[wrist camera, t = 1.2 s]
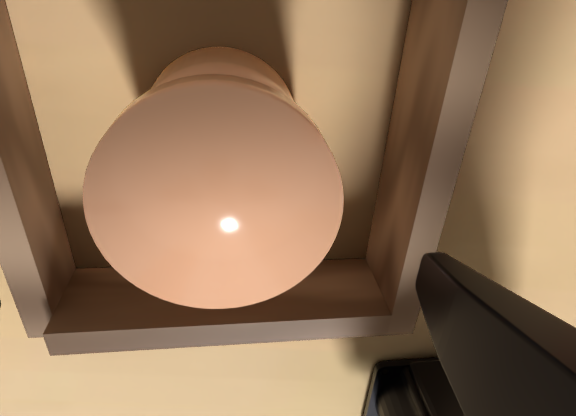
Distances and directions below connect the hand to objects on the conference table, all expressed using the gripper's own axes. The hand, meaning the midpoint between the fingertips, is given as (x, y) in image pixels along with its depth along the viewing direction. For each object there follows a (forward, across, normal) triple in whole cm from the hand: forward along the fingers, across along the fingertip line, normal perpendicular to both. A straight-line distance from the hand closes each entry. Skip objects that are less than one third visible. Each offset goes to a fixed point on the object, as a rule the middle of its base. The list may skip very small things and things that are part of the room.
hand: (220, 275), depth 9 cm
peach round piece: (+9, 0, 0) cm, 9 cm away
